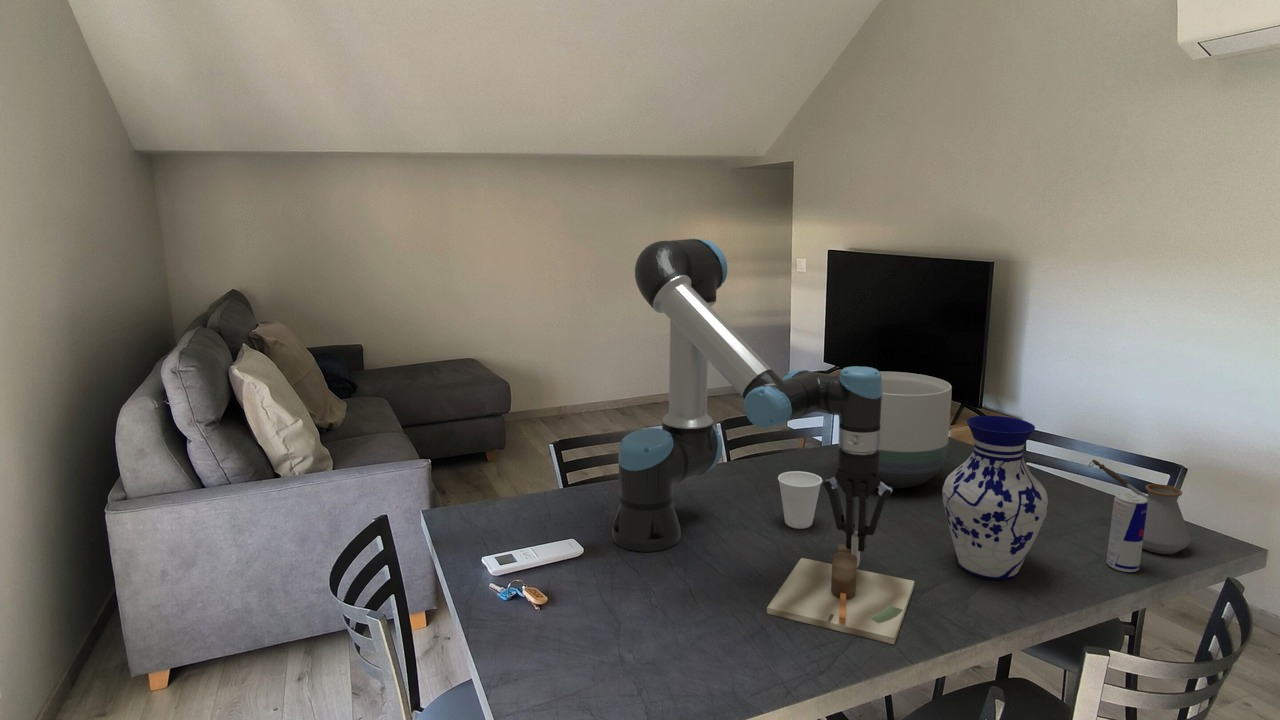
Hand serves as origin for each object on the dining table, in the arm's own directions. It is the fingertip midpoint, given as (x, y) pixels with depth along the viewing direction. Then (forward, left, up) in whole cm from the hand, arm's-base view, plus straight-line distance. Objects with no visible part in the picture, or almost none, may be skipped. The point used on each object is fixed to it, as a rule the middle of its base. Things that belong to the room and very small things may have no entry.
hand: (855, 565), depth 149 cm
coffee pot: (+50, +46, -3) cm, 68 cm away
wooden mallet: (0, -9, -1) cm, 9 cm away
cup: (-17, +21, -3) cm, 27 cm away
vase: (+23, +17, -3) cm, 29 cm away
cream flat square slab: (0, -9, -3) cm, 9 cm away
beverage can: (+47, +29, -3) cm, 55 cm away
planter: (-3, +58, -3) cm, 58 cm away
